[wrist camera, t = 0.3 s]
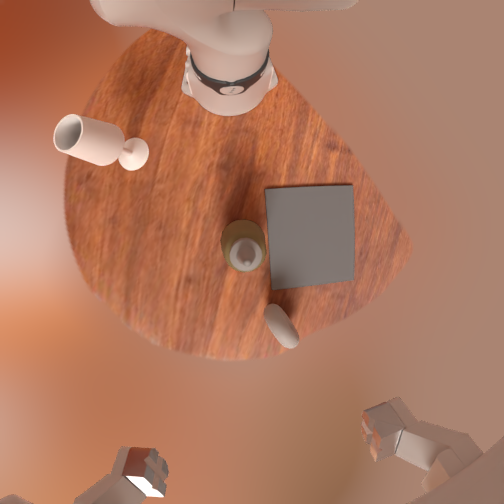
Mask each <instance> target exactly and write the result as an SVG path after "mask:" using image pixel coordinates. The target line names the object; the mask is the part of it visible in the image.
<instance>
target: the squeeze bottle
mask: <svg viewBox="0 0 504 504" xmlns="http://www.w3.org/2000/svg"><path fill="white" fill-rule="evenodd" d="M220 241H221V248H222V252H223V255H224V258H225V260H226V261H227V263H228V265H229V266H230V267H232V268H233V269H235V270H236V271H240V272H249V271H253V270H255V269H257V268H258V267H260V265H261V264H262V263H263V262H264V260H265V256H266V244H265V235H264V233H263V231H262V229H261V227H260V226H258V225H257V224H256V223H254V222H253V221H249V220H246V219H243V220H236V221H234V222H232V223H230V224H229V225H228V226H227V227H226V228H225V229H224V231H223V232H222V236H221V240H220Z"/></svg>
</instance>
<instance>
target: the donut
mask: <svg viewBox="0 0 504 504" xmlns="http://www.w3.org/2000/svg"><path fill="white" fill-rule="evenodd" d="M264 318H265V320H266V323H267V325H268V326H269V328H270V330H271V332H272V333H273V335H274V336H275V337H276V339H277V340H278V341H279V342H280V343H281V344H282V345H283V346H284V347H286V348H294V347H296V346H297V345H298V343H299V335H298V333H297V331H296V329H295V327H294V325H293V323H292V322H291V320H290V319H289V317H288V316H287V315H286V313H285V312H284V311H283V309H282V308H281V307H280V306H278V305H277V304H269V305H267V306H266V307H265V309H264Z"/></svg>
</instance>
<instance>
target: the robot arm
mask: <svg viewBox="0 0 504 504" xmlns="http://www.w3.org/2000/svg"><path fill="white" fill-rule="evenodd" d="M358 1H359V0H90V2H91V5H92V7H93V9H94V10H95V11H96V13H97V14H98V15H99V16H100V17H101V18H103V19H104V20H105V21H107V22H109V23H110V24H113V25H115V26H137V27H147V28H151V29H156V30H159V31H162V32H165V33H168V34H170V35H173V36H175V37H177V38H179V39H181V40H182V41H184V42H185V43H186V44H187V48H186V55H187V56H188V59H187V61H186V64H185V66H186V68H185V72H184V77H183V82H182V92H183V93H185V94H186V95H189V96H191V97H193V98H195V99H196V100H197V101H198V102H199V104H200V105H201V106H202V107H204V108H205V109H206V110H208V111H210V112H212V113H214V114H218V115H223V116H235V115H240V114H243V113H246V112H248V111H250V110H252V109H253V108H254V107H256V106H257V105H258V104H259V103H260V102H261V100H262V99H263V97H264V96H265V94H266V93H267V92H268V91H270V90H271V89H273V88H274V87H276V86H277V84H278V78H277V75H276V73H275V70H274V67H273V64H272V62H271V59H270V57H269V45H270V41H271V38H272V34H273V28H272V23H271V21H270V18H269V17H268V15H267V14H266V13H265V12H264V10H286V11H320V10H342V9H343V10H344V9H348V8H350V7H351V6H353V5H354V4H356V3H357V2H358ZM187 82H188V84H187ZM362 418H363V420H364V421H363V422H362V423H361V431H362V435H363V438H364V440H365V442H366V443H368V444H370V445H371V446H370V452H371V454H372V456H373V458H374V460H375V462H377V461H379V460H382V459H384V458H387V457H389V456H392V455H394V454H395V455H396V456H398V457H400V458H402V459H404V460H406V461H408V462H410V463H412V464H414V465H416V466H418V467H420V468H422V469H425V470H426V471H428V473H427V474H426V476H425V478H424V479H423V481H422V483H421V485H422V487H423V488H424V490H425V492H426V494H424V495H422V496H420V497H418V498H416V499H415V500H413V501H411V502H409V503H407V504H504V437H502V438H501V439H500V440H499V441H498V442H497V443H496V444H495V445H493V446H492V447H491V448H490V449H489V450H488V451H486V452H485V453H483V452H482V451H481V450H480V448H479V447H478V446H477V445H476V444H475V442H474V441H473V440H472V438H471V437H470V436H469V435H468V434H466V433H462V432H458V431H455V430H451V429H448V428H444V427H441V426H438V425H434V424H431V423H428V422H425V421H422V420H421V421H419V422H418V421H417V419H416V418H415V417H414V415H413V414H412V413H411V411H410V410H409V409H408V407H407V406H406V405H405V403H404V402H403V401H402V400H401V398H400V397H395V398H393V399H391V400H389V401H387V402H383V403H381V404H379V405H376V406H374V407H371V408H369V409H367V410H364V411H363V412H362ZM158 454H159V452H158V451H157V450H156V449H155V448H139V447H125V446H124V447H123V446H122V447H121V448H120V449H119V451H118V454H117V457H116V460H115V463H114V465H113V468H112V471H111V474H107V475H106V476H105V477H103V478H102V479H101V480H99V481H98V482H97V483H96V484H94V485H93V486H92V487H90V488H89V489H88V490H86V491H85V492H84V493H82V494H81V495H80V496H78V497H77V498H75V501H74V503H73V504H141V503H142V502H143V501H144V500H145V499H146V497H147V496H155V497H165V492H166V484H165V483H164V480H165V479H166V478H167V477H168V472H169V471H168V465H167V463H166V461H165V460H164V459H163V458H162V457H160V456H158ZM0 504H33V503H31V502H29V501H27V500H25V499H23V498H22V497H19V496H17V495H14V494H13V495H9V496H6V497H4V498H2V499H0Z"/></svg>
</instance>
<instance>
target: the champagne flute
mask: <svg viewBox="0 0 504 504" xmlns="http://www.w3.org/2000/svg"><path fill="white" fill-rule="evenodd" d="M53 138H54V139H53V140H54V145H55V147H56V149H57V150H59V151H61V152H63V153H66V154H69V155H72V156H74V157H77V158H80V159H83V160H85V161H88V162H91V163H93V164H96V165H100V166H105V165H109V164H111V163H113V162H114V161H115V160H117V158H118V157H119V162H120V164H121V165H122V167H124V168H125V169H127V170H137V169H139V168H140V167H142V166H143V165H144V164H145V162H146V161H147V159H148V155H149V149H148V145H147V144H146V142H145V141H144V140H142V139H140V138H131V139H129V140H127V141H126V142H125V140H124V135H123V132H122V131H121V129H120V128H119V127H118V126H116V125H114V124H111V123H107V122H103V121H100V120H96V119H92V118H88V117H84V116H80V115H75V114H70V115H67V116H65V117H64V118H63V119H62V120H61V121H60V122H59V123H58V125H57V126H56V129H55V132H54V137H53Z"/></svg>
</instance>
